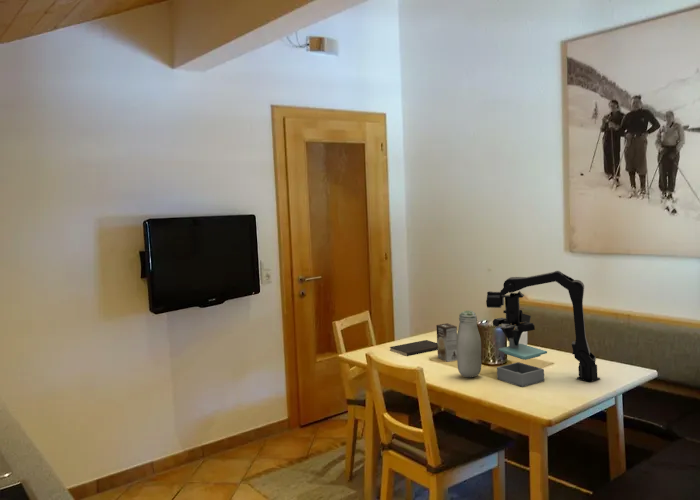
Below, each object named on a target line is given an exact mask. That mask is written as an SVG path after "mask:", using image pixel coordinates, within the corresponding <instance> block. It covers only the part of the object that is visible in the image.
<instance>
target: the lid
mask: <svg viewBox="0 0 700 500" xmlns="http://www.w3.org/2000/svg"><path fill="white" fill-rule="evenodd" d="M498 351H499V352H502V353H504V355H506V356H507V355H508V356H511V357H514V358H516V359H519V360H522V361H524V360H525V361H526V360H531V359H534V358H538V357H541V355H546V354H548V351H547V350H544V349H541V348H537V347H534V346H530V345H528V344H527V345H524V344H519V343H518V345H517V346H516V345H515V343H514V339H513V337H511V338H509V341H508V345H507V346H503V347H500V348H498Z"/></svg>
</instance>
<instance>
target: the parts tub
mask: <svg viewBox="0 0 700 500" xmlns="http://www.w3.org/2000/svg"><path fill="white" fill-rule="evenodd" d="M496 378H497V380H498V381H502V382H505V383H508V384H512V385H515V386H517V387H521V388H524V387H528V386H533V385H536V384H538V383H539V384H540V383H544V382H545V370H544V368H541V367H537V366H535V365H530V364H526V363H524V362H520V361H518V362H514V363H508V364H505V365H500V366H497V367H496Z"/></svg>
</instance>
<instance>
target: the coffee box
mask: <svg viewBox="0 0 700 500" xmlns="http://www.w3.org/2000/svg"><path fill="white" fill-rule="evenodd" d="M457 333H458V326H456V325H453V324H451V323H442V324H436V343H437V349H438V350H437V359H440V360H442V361H444V362H448V363H449V362H455V361H457V348H456V338H457Z"/></svg>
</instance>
